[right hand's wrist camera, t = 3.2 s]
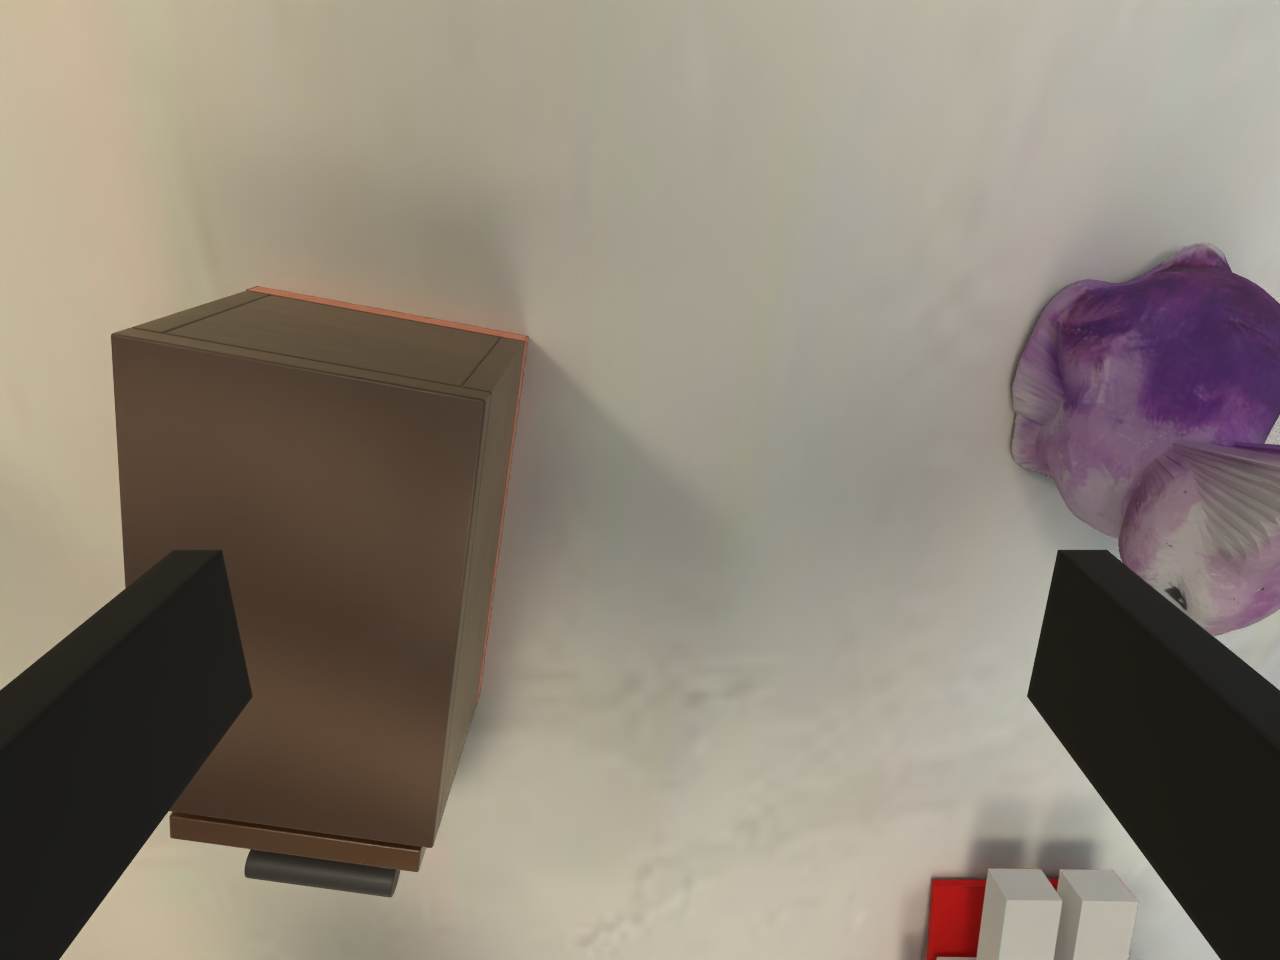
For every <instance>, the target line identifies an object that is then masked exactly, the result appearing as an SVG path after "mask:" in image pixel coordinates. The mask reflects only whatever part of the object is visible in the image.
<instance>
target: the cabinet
mask: <svg viewBox="0 0 1280 960" xmlns="http://www.w3.org/2000/svg"><path fill="white" fill-rule="evenodd" d="M111 343H112V360H113V378H114V395H115V412H116V430H117V447H118V464H119V482H120V499H121V516H122V534H123V551H124V569H125V586H126V588H127V587H128V586H130V585H131V584H132V583H133V582H134V581H136V580H137V579H138V578H139V577H141V576H142V575H143V574H144V573H145V572H147V571H148V570H149V569H150V568H152V567H153V566H154V565H155V564H157V563H158V562H159V561H160V560H161V559H163V558H164V557H165V556H166V555H168V554H169V553H170V552H171V551H173V550H222V552H223V557H224V562H225V567H226V572H227V576H228V581H229V586H230V591H231V595H232V600H233V605H234V610H235V614H236V619H237V624H238V629H239V633H240V638H241V643H242V648H243V652H244V657H245V662H246V667H247V671H248V676H249V681H250V686H251V690H252V695H253V697H252V698H251V700H250V701H249V702H248V704H247V705H246V706H245V708H244V709H243V710H242V712H241V713H240V715H239V716H238V717H237V719H236V720H235V721H234V723H233V724H232V725H231V727H230V728H229V729H228V731H227V732H226V734H225V735H224V736H223V738H222V739H221V740H220V742H219V743H218V744H217V746H216V747H215V749H214V750H213V751H212V753H211V754H210V755H209V757H208V758H207V759H206V761H205V762H204V763H203V765H202V766H201V768H200V769H199V770H198V772H197V773H196V774H195V776H194V777H193V778H192V780H191V781H190V782H189V784H188V785H187V787H186V788H185V789H184V791H183V792H182V793H181V795H180V796H179V797H178V799H177V800H176V801H175V803H174V804H173V806H172V807H171V808H170V810H169V811H172V812H179V813H186V814H193V815H200V816H207V817H214V818H222V819H229V820H236V821H243V822H250V823H257V824H264V825H271V826H278V827H285V828H293V829H300V830H307V831H314V832H321V833H328V834H335V835H342V836H349V837H356V838H363V839H371V840H378V841H385V842H392V843H399V844H406V845H413V846H420V847H427V848H432V847H433V845H434V841H435V838H436V835H437V832H438V828H439V825H440V822H441V819H442V816H443V812H444V809H445V806H446V802H447V799H448V796H449V793H450V789H451V786H452V783H453V780H454V776H455V773H456V770H457V767H458V763H459V760H460V757H461V753H462V750H463V747H464V744H465V740H466V737H467V734H468V731H469V727H470V724H471V721H472V717H473V714H474V711H475V708H476V706H477V702H478V699H479V696H480V689H481V682H482V674H483V667H484V660H485V652H486V645H487V638H488V630H489V623H490V616H491V608H492V601H493V593H494V586H495V579H496V571H497V564H498V557H499V549H500V542H501V534H502V527H503V520H504V512H505V505H506V498H507V490H508V483H509V476H510V468H511V461H512V453H513V446H514V439H515V431H516V424H517V417H518V409H519V402H520V395H521V387H522V380H523V372H524V365H525V358H526V350H527V343H528V336H523V335H518V334H512V333H507V332H501V331H496V330H491V329H485V328H480V327H474V326H469V325H463V324H458V323H453V322H447V321H442V320H436V319H431V318H426V317H420V316H415V315H409V314H404V313H398V312H393V311H388V310H382V309H377V308H371V307H366V306H361V305H355V304H350V303H344V302H339V301H333V300H328V299H323V298H317V297H312V296H306V295H301V294H296V293H290V292H285V291H279V290H274V289H268V288H263V287H258V286H256V287H253V288H250V289H246V291H244V292H241V293H238V294H235V295H231V296H228V297H225V298H222V299H219V300H216V301H213V302H210V303H206V304H203V305H200V306H197V307H194V308H191V309H188V310H185V311H181V312H178V313H175V314H172V315H169V316H166V317H163V318H160V319H156V320H153V321H150V322H147V323H144V324H141V325H138V326H135V327H132V328H128V329H125V330H122V331H119V332H116V333H113V334H112V335H111Z"/></svg>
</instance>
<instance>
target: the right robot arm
mask: <svg viewBox="0 0 1280 960" xmlns="http://www.w3.org/2000/svg"><path fill="white" fill-rule="evenodd" d="M252 697H253V695H252V690H251V686H250V681H249V676H248V671H247V667H246V662H245V657H244V652H243V648H242V643H241V638H240V633H239V629H238V624H237V619H236V614H235V610H234V605H233V600H232V595H231V591H230V586H229V581H228V576H227V572H226V567H225V562H224V557H223V552H222V550H173V551H171V552H170V553H169V554H168V555H166V556H165V557H164V558H163V559H161V560H160V561H159V562H158V563H157V564H155V565H154V566H153V567H152V568H150V569H149V570H148V571H147V572H145V573H144V574H143V575H142V576H141V577H139V578H138V579H137V580H136V581H134V582H133V583H132V584H131V585H130V586H128V587H127V588H126V589H125V590H123V591H122V592H121V593H120V594H118V595H117V596H116V597H115V598H114V599H112V600H111V601H110V602H109V603H107V604H106V605H105V606H104V607H102V608H101V609H100V610H99V611H98V612H96V613H95V614H94V615H93V616H91V617H90V618H89V619H88V620H86V621H85V622H84V623H83V624H82V625H80V626H79V627H78V628H77V629H75V630H74V631H73V632H72V633H70V634H69V635H68V636H67V637H66V638H64V639H63V640H62V641H61V642H59V643H58V644H57V645H56V646H54V647H53V648H52V649H51V650H50V651H48V652H47V653H46V654H45V655H43V656H42V657H41V658H40V659H38V660H37V661H36V662H35V663H34V664H32V665H31V666H30V667H29V668H27V669H26V670H25V671H24V672H23V673H21V674H20V675H19V676H18V677H16V678H15V679H14V680H13V681H11V682H10V683H9V684H8V685H7V686H5V687H4V688H3V689H2V690H0V960H59V959H60V958H61V956H62V955H63V954H64V952H65V951H66V950H67V948H68V947H69V946H70V944H71V943H72V941H73V940H74V939H75V937H76V936H77V935H78V933H79V932H80V931H81V929H82V928H83V926H84V925H85V924H86V922H87V921H88V920H89V918H90V917H91V916H92V914H93V913H94V912H95V910H96V909H97V907H98V906H99V905H100V903H101V902H102V901H103V899H104V898H105V897H106V895H107V894H108V893H109V891H110V890H111V888H112V887H113V886H114V884H115V883H116V882H117V880H118V879H119V878H120V876H121V875H122V874H123V872H124V871H125V869H126V868H127V867H128V865H129V864H130V863H131V861H132V860H133V859H134V857H135V856H136V854H137V853H138V852H139V850H140V849H141V848H142V846H143V845H144V844H145V842H146V841H147V840H148V838H149V837H150V835H151V834H152V833H153V831H154V830H155V829H156V827H157V826H158V825H159V823H160V822H161V821H162V819H163V818H164V816H165V815H166V814H167V812H168V811H169V810H170V808H171V807H172V806H173V804H174V803H175V801H176V800H177V799H178V797H179V796H180V795H181V793H182V792H183V791H184V789H185V788H186V787H187V785H188V784H189V782H190V781H191V780H192V778H193V777H194V776H195V774H196V773H197V772H198V770H199V769H200V768H201V766H202V765H203V763H204V762H205V761H206V759H207V758H208V757H209V755H210V754H211V753H212V751H213V750H214V749H215V747H216V746H217V744H218V743H219V742H220V740H221V739H222V738H223V736H224V735H225V734H226V732H227V731H228V729H229V728H230V727H231V725H232V724H233V723H234V721H235V720H236V719H237V717H238V716H239V715H240V713H241V712H242V710H243V709H244V708H245V706H246V705H247V704H248V702H249V701H250V700H251V698H252ZM1027 697H1028V698H1029V700H1030V701H1031V702H1032V704H1033V705H1034V706H1035V708H1036V709H1037V710H1038V712H1039V713H1040V715H1041V716H1042V717H1043V719H1044V720H1045V721H1046V723H1047V724H1048V725H1049V727H1050V728H1051V729H1052V731H1053V732H1054V734H1055V735H1056V736H1057V738H1058V739H1059V740H1060V742H1061V743H1062V744H1063V746H1064V747H1065V749H1066V750H1067V751H1068V753H1069V754H1070V755H1071V757H1072V758H1073V759H1074V761H1075V762H1076V763H1077V765H1078V766H1079V768H1080V769H1081V770H1082V772H1083V773H1084V774H1085V776H1086V777H1087V778H1088V780H1089V781H1090V782H1091V784H1092V785H1093V787H1094V788H1095V789H1096V791H1097V792H1098V793H1099V795H1100V796H1101V797H1102V799H1103V800H1104V801H1105V803H1106V804H1107V806H1108V807H1109V808H1110V810H1111V811H1112V812H1113V814H1114V815H1115V816H1116V818H1117V819H1118V821H1119V822H1120V823H1121V825H1122V826H1123V827H1124V829H1125V830H1126V831H1127V833H1128V834H1129V835H1130V837H1131V838H1132V840H1133V841H1134V842H1135V844H1136V845H1137V846H1138V848H1139V849H1140V850H1141V852H1142V853H1143V854H1144V856H1145V857H1146V859H1147V860H1148V861H1149V863H1150V864H1151V865H1152V867H1153V868H1154V869H1155V871H1156V872H1157V874H1158V875H1159V876H1160V878H1161V879H1162V880H1163V882H1164V883H1165V884H1166V886H1167V887H1168V888H1169V890H1170V891H1171V893H1172V894H1173V895H1174V897H1175V898H1176V899H1177V901H1178V902H1179V903H1180V905H1181V906H1182V907H1183V909H1184V910H1185V912H1186V913H1187V914H1188V916H1189V917H1190V918H1191V920H1192V921H1193V922H1194V924H1195V925H1196V926H1197V928H1198V929H1199V931H1200V932H1201V933H1202V935H1203V936H1204V937H1205V939H1206V940H1207V941H1208V943H1209V944H1210V946H1211V947H1212V948H1213V950H1214V951H1215V952H1216V954H1217V955H1218V956H1219V958H1220V959H1221V960H1280V690H1278V689H1277V688H1276V687H1275V686H1273V685H1272V684H1271V683H1270V682H1269V681H1267V680H1266V679H1265V678H1264V677H1262V676H1261V675H1260V674H1259V673H1257V672H1256V671H1255V670H1254V669H1253V668H1251V667H1250V666H1249V665H1248V664H1246V663H1245V662H1244V661H1243V660H1242V659H1240V658H1239V657H1238V656H1237V655H1235V654H1234V653H1233V652H1232V651H1230V650H1229V649H1228V648H1227V647H1226V646H1224V645H1223V644H1222V643H1221V642H1219V641H1218V640H1217V639H1216V638H1214V637H1213V636H1212V635H1211V634H1210V633H1208V632H1207V631H1206V630H1205V629H1203V628H1202V627H1201V626H1200V625H1198V624H1197V623H1196V622H1195V621H1194V620H1192V619H1191V618H1190V617H1189V616H1187V615H1186V614H1185V613H1184V612H1182V611H1181V610H1180V609H1179V608H1178V607H1176V606H1175V605H1174V604H1173V603H1171V602H1170V601H1169V600H1168V599H1166V598H1165V597H1164V596H1163V595H1162V594H1160V593H1159V592H1158V591H1157V590H1155V589H1154V588H1153V587H1152V586H1150V585H1149V584H1148V583H1147V582H1146V581H1144V580H1143V579H1142V578H1141V577H1139V576H1138V575H1137V574H1136V573H1135V572H1133V571H1132V570H1131V569H1130V568H1128V567H1127V566H1126V565H1125V564H1123V563H1122V562H1121V561H1120V560H1119V559H1117V558H1116V557H1115V556H1114V555H1112V554H1111V553H1110V552H1109V551H1107V550H1058V552H1057V557H1056V562H1055V567H1054V571H1053V576H1052V581H1051V586H1050V590H1049V595H1048V600H1047V605H1046V610H1045V614H1044V619H1043V624H1042V629H1041V633H1040V638H1039V643H1038V648H1037V652H1036V657H1035V662H1034V667H1033V671H1032V676H1031V681H1030V686H1029V690H1028V695H1027Z"/></svg>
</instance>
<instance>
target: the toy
mask: <svg viewBox="0 0 1280 960" xmlns="http://www.w3.org/2000/svg"><path fill="white" fill-rule="evenodd" d="M1137 907H1138V900H1137V899H1136V898H1135V897H1134V895H1133V894H1132V893H1131V892H1130V890H1129V889H1128V888H1127V887H1126V885H1125V884H1124V883H1123V882H1122V880H1121V879H1120V878H1119V877H1118V875H1117V874H1116V873H1115V872H1114V870H1071V869H1060V873H1059V879H1047V877H1046V876H1045V874H1044V873H1043V871H1042V870H1041V869H988V873H987V879H968V880H932V889H931V903H930V917H929V932H928V946H927V960H1128V957H1129V951H1130V946H1131V940H1132V935H1133V929H1134V924H1135V918H1136V913H1137Z"/></svg>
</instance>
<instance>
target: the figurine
mask: <svg viewBox="0 0 1280 960" xmlns="http://www.w3.org/2000/svg"><path fill="white" fill-rule="evenodd" d="M1011 388H1012V396H1013V405H1014V412H1016V415H1017V417H1016V419H1015V430H1014V433H1013V439H1012V445H1011V451H1012V457H1013V460H1014V461H1015V462H1016V463H1017V464H1019V465H1020V466H1021V467H1022V468H1023V469H1027V470H1029V471H1035V472H1040V474H1043V473H1044V474H1045V475H1049V476H1050V477H1053V478H1054V480H1055V482H1056V485H1057V487H1058V490H1059V492H1060V494H1061V496H1062V498H1063V500H1064V502H1065V503H1066V505H1067V507H1068V508H1069V509H1070V511H1071V512H1072V513H1073V514H1074V515H1075V516H1076V517H1078V518H1079V519H1080V520H1082V521H1083V522H1085V523H1087V524H1088V525H1090V526H1091V527H1093V528H1095V529H1097V530H1099V531H1101V532H1102V533H1104V534H1107V535H1109V536H1111V537H1114V538H1117V539H1119V552H1120V557H1121V559H1122V562H1123V564H1125V565H1126V566H1127V567H1128V568H1130V569H1131V570H1132V571H1133V572H1135V573H1136V574H1137V575H1138V576H1139V577H1141V578H1142V579H1143V580H1144V581H1146V582H1147V583H1148V584H1149V585H1150V586H1152V587H1153V588H1154V589H1155V590H1157V591H1158V592H1159V593H1160V594H1162V595H1163V596H1164V597H1165V598H1166V599H1168V600H1169V601H1170V602H1171V603H1173V604H1174V605H1175V606H1176V607H1178V608H1179V609H1180V610H1181V611H1182V612H1184V613H1185V614H1186V615H1187V616H1189V617H1190V618H1191V619H1192V620H1194V621H1195V622H1196V623H1197V624H1198V625H1200V626H1201V627H1202V628H1203V629H1205V630H1206V631H1207V632H1208V633H1210V634H1211V635H1212V636H1217V635H1221V634H1224V633H1227V632H1230V631H1233V630H1236V629H1240V628H1244V627H1247V626H1250V625H1252V624H1254V623H1256V622H1259V621H1261V620H1262V619H1264V618H1266V617H1268V616H1269V615H1271V614H1273V613H1274V612H1276V611H1277V610H1279V609H1280V445H1273V444H1264V443H1265V441H1266V439H1267V437H1268V435H1269V433H1270V431H1271V429H1272V428H1273V426H1274V424H1275V422H1276V420H1277V419H1278V417H1279V415H1280V304H1279V303H1278V302H1277V301H1276V300H1275V299H1274V298H1273V297H1271V296H1270V295H1269V294H1268V293H1267V292H1266V291H1265V290H1264V289H1262V288H1261V287H1260V286H1258V285H1257V284H1255V283H1253V282H1252V281H1250V280H1248V279H1246V278H1244V277H1241V276H1239V275H1237V274H1234V273H1232V271H1231V269H1230V267H1229V265H1228V263H1227V260H1226V258H1225V255H1224V253H1223V252H1222V251H1221V250H1220V249H1219V248H1217V247H1216V246H1214V245H1212V244H1210V243H1196V244H1193V245H1189V246H1186V247H1184V248H1182V249H1180V250H1179V251H1177V252H1176V253H1175V254H1174V255H1172V256H1171V257H1170V258H1168V259H1167V260H1166V261H1164V262H1163V263H1161V264H1159V265H1158V266H1156V267H1155V268H1153V269H1152V270H1150V271H1148V272H1147V273H1145V274H1143V275H1142V276H1140V277H1137V278H1135V279H1133V280H1130V281H1128V282H1125V283H1121V284H1115V283H1108V282H1104V281H1099V280H1089V279H1087V280H1082V281H1078V282H1075V283H1073V284H1071V285H1069V286H1068V287H1066V288H1065V289H1063V290H1062V291H1061V292H1060V293H1058V294H1057V295H1056V296H1055V297H1054V298H1053V299H1052V300H1051V301H1050V302H1049V303H1048V304H1047V306H1046V307H1045V308H1044V309H1043V310H1042V313H1041V315H1040V317H1039V319H1038V321H1037V323H1036V325H1035V327H1034V329H1033V331H1032V334H1031V336H1030V338H1029V340H1028V342H1027V345H1026V347H1025V349H1024V351H1023V353H1022V356H1021V358H1020V360H1019V363H1018V366H1017V370H1016V373H1015V377H1014V381H1013V383H1012V384H1011Z"/></svg>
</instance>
